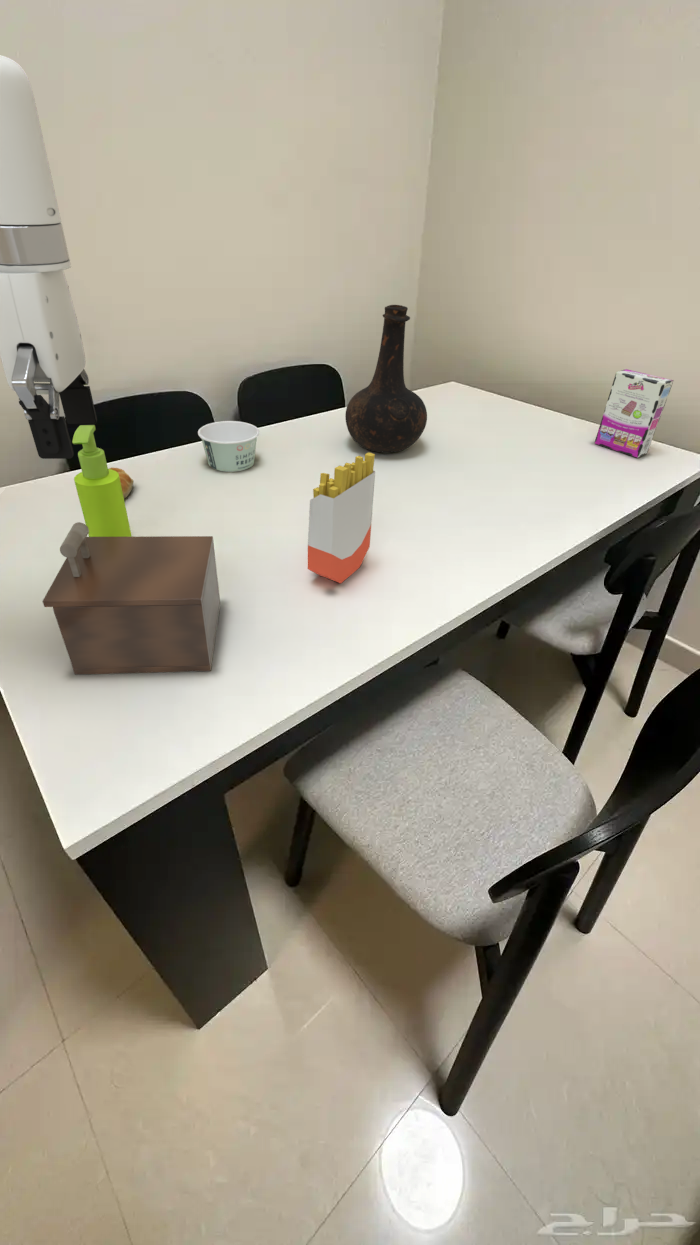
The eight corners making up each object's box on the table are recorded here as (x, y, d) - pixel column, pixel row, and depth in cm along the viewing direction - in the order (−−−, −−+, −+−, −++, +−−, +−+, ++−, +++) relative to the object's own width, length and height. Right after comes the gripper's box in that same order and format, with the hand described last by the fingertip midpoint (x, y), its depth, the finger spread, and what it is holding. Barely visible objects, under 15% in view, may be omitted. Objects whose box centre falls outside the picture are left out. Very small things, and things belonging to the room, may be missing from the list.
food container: (236, 479, 113) (233, 447, 109) (188, 465, 117) (184, 433, 113) (272, 460, 121) (271, 429, 117) (227, 446, 126) (224, 416, 121)
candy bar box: (647, 453, 134) (675, 379, 124) (637, 458, 131) (665, 383, 121) (603, 439, 140) (626, 367, 130) (592, 443, 138) (615, 370, 127)
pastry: (126, 508, 102) (122, 487, 99) (86, 508, 101) (80, 488, 98) (135, 485, 109) (131, 465, 107) (98, 485, 108) (93, 466, 106)
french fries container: (305, 581, 86) (305, 466, 75) (344, 551, 94) (349, 442, 82) (331, 592, 84) (334, 475, 73) (369, 560, 92) (377, 450, 81)
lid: (44, 607, 62) (30, 566, 59) (79, 542, 73) (69, 504, 70) (201, 604, 64) (196, 564, 61) (213, 541, 75) (209, 504, 72)
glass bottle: (354, 463, 122) (362, 315, 104) (336, 433, 135) (340, 297, 118) (434, 459, 125) (455, 315, 108) (408, 430, 139) (423, 298, 122)
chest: (74, 674, 69) (52, 607, 62) (103, 605, 79) (86, 542, 73) (210, 671, 70) (201, 605, 64) (220, 603, 81) (213, 541, 75)
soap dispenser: (90, 571, 86) (54, 438, 73) (98, 547, 91) (66, 419, 79) (131, 569, 86) (103, 438, 74) (137, 546, 92) (111, 419, 80)
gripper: (10, 236, 57) (57, 412, 68) (-71, 258, 44) (3, 473, 54) (89, 239, 58) (123, 412, 69) (34, 262, 44) (87, 473, 55)
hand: (70, 439), depth 61 cm, fingers open, 9 cm apart
